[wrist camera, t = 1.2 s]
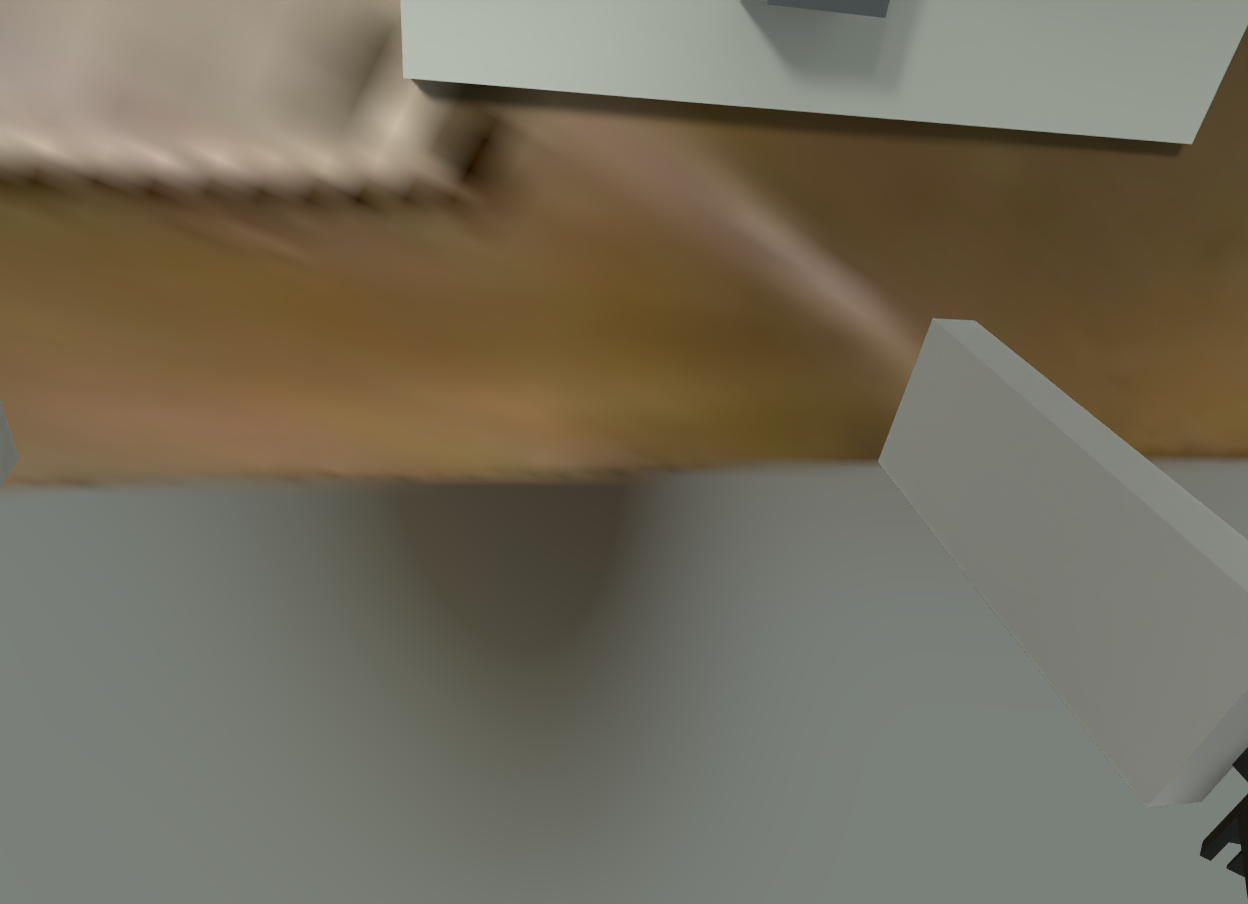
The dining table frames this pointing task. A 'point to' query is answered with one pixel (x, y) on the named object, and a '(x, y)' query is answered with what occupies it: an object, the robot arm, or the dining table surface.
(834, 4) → the link
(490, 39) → the board
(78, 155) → the dining table surface
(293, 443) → the dining table surface
